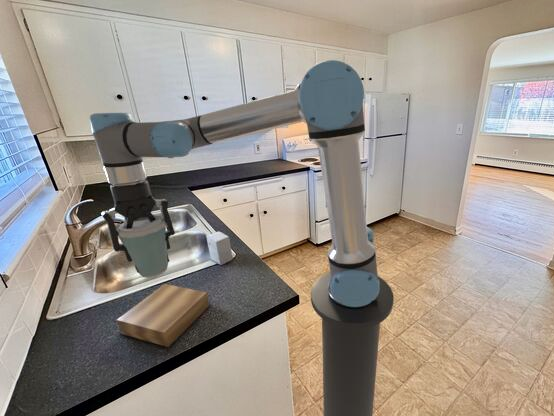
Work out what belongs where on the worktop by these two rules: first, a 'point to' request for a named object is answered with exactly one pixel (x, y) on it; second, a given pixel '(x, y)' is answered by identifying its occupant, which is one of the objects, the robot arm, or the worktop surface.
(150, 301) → the maple block
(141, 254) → the disposable coffee cup
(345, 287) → the robot arm
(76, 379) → the worktop surface
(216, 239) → the small box
